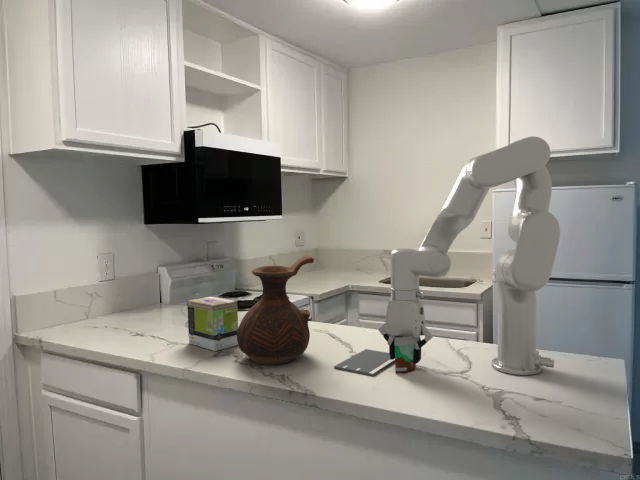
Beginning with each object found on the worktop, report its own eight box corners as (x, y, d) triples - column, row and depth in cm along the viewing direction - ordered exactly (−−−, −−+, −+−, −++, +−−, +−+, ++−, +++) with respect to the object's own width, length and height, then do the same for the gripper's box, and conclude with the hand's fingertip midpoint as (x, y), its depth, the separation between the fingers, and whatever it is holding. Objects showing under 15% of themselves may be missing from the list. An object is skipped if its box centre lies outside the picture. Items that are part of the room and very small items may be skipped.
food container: (419, 377, 124) (418, 339, 124) (395, 375, 126) (394, 338, 125) (420, 361, 136) (420, 326, 135) (398, 360, 138) (398, 326, 137)
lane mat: (402, 357, 141) (402, 354, 141) (372, 376, 126) (372, 373, 126) (365, 350, 147) (365, 348, 147) (334, 368, 133) (334, 366, 133)
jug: (285, 375, 128) (281, 263, 126) (222, 364, 139) (218, 260, 137) (324, 352, 147) (322, 254, 145) (266, 343, 158) (263, 252, 156)
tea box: (240, 344, 158) (238, 300, 157) (214, 352, 150) (212, 305, 149) (213, 337, 168) (211, 295, 167) (187, 343, 161) (185, 299, 159)
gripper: (440, 295, 128) (440, 362, 129) (382, 289, 138) (382, 351, 139) (430, 300, 122) (430, 370, 123) (369, 294, 131) (370, 359, 133)
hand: (404, 359), depth 131 cm, fingers closed on food container, 5 cm apart
